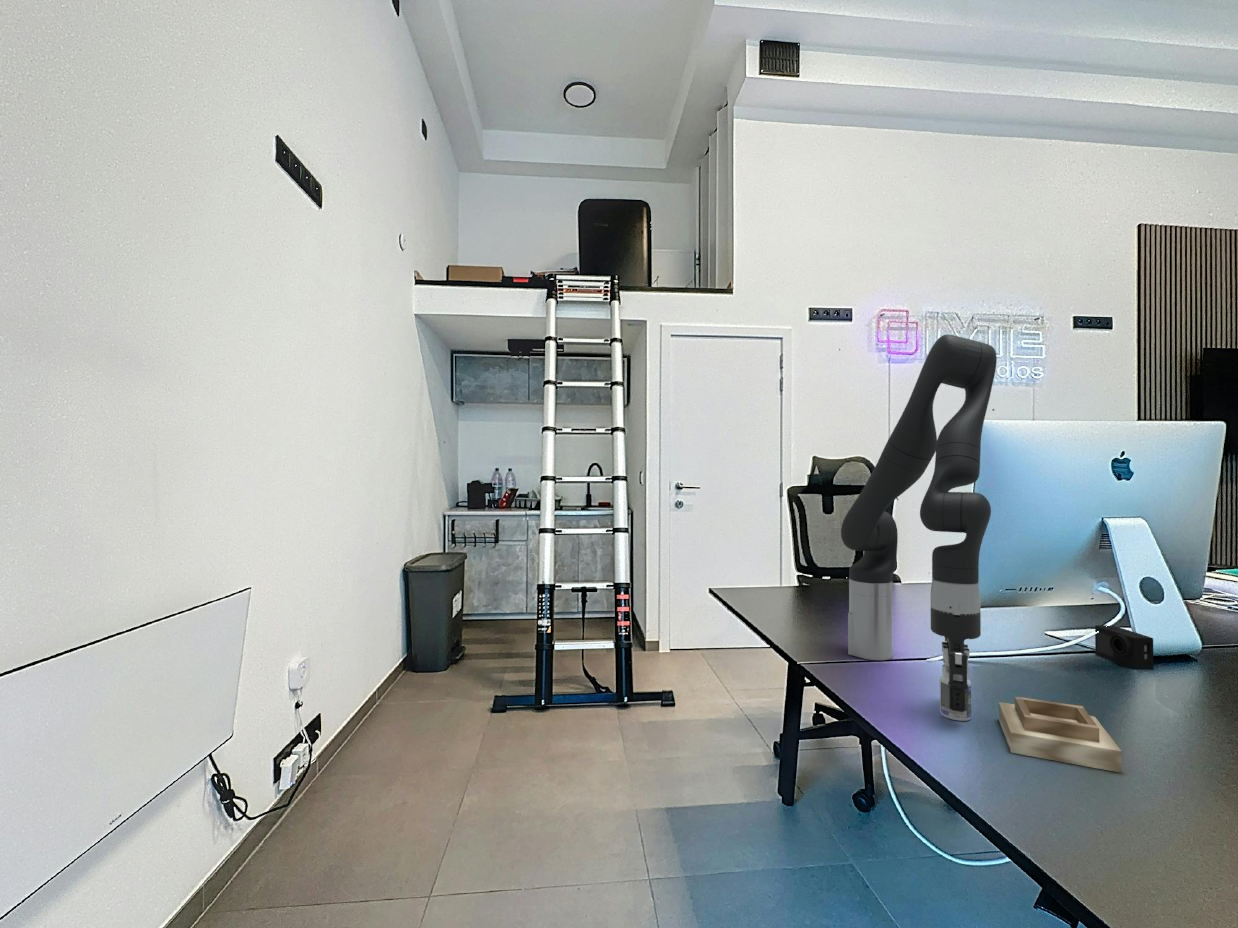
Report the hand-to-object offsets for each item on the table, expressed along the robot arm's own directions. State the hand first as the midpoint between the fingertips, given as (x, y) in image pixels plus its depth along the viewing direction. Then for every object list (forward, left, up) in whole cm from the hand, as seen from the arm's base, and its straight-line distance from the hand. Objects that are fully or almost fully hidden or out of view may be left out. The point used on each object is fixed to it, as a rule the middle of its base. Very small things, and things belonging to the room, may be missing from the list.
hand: (955, 702), depth 100 cm
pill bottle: (0, 0, -3) cm, 3 cm away
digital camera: (+35, +50, -3) cm, 62 cm away
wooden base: (+13, -5, -2) cm, 14 cm away
